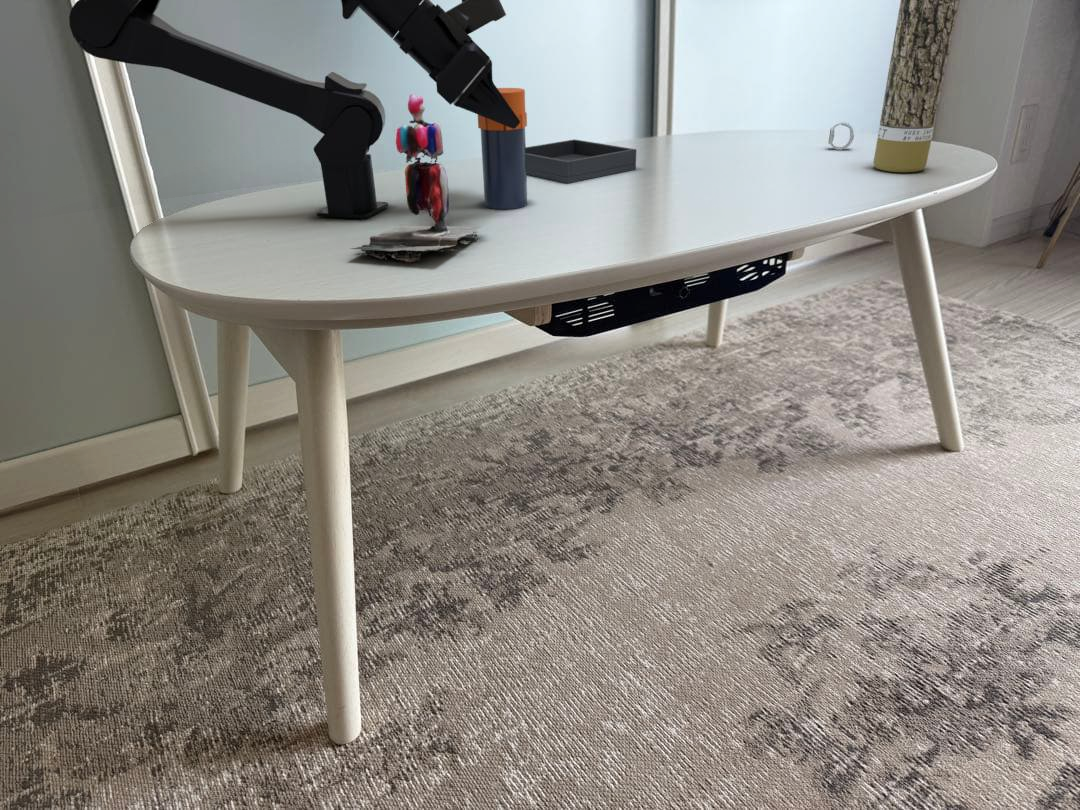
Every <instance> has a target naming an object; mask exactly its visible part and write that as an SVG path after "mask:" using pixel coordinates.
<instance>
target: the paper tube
mask: <svg viewBox="0 0 1080 810" xmlns="http://www.w3.org/2000/svg"><path fill="white" fill-rule="evenodd" d="M959 5H960V0H900V4H899V9H898V14H897V20H896V26H895V31H894V38H893V44H892V49H891V56H890V60H889V61H890V62H889V67H888V73H887V79H886V84H885V90H884V97H883V102H882V109H881V113H880V120H879V124H878V125H879V126H878V130H877V131H878V132H877V139H876V145H875V151H874V157H873V166H874V168H875V169H877V170H879V171H884V172H889V173H902V174H903V173H905V174H906V173H916V172H921V171H922V170H924V169H925V168H926V167H927V162H928V158H929V154H930V149H931V143H932V139H933V136H934V135H933V134H934V130H935V125H936V120H937V115H938V109H939V104H940V99H941V94H942V91H943V84H944V80H945V75H946V69H947V65H948V59H949V55H950V51H951V46H952V45H951V44H952V41H953V35H954V32H955V31H954V30H955V25H956V19H957V15H958V11H959Z"/></svg>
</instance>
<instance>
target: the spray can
mask: <svg viewBox="0 0 1080 810" xmlns="http://www.w3.org/2000/svg"><path fill="white" fill-rule="evenodd" d="M480 143H481V159H482V160H481V161H482V177H483V178H482V180H483V196H484V206H485V207H486V208H489V209H495V210H515V209H519V208H523V207H526V206H527V205H528V184H527V181H528V179H527V177H528V176H527V174H526V147H527V145H526V144H527V143H526V127H524V128H521V129H514V130H484V129H480Z"/></svg>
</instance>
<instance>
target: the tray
mask: <svg viewBox="0 0 1080 810" xmlns="http://www.w3.org/2000/svg"><path fill="white" fill-rule="evenodd" d="M634 170H637V149H636V148H631V147H626V146H625V147H624V146H619V145H612V144H606V143H599V142H593V141H588V140H582V139H581V140H580V139H569V140H563V141H556V142H549V143H544V144H538V145H532V146H526V175H528V176H532V177H536V178H537V177H538V178H542V179H546V180H552V181H555V182H558V183H559V182H560V183H564V184H570V183H575V182H582V181H585V180H590V179H591V180H592V179H595V178H601V177H605V176H610V175H611V176H612V175H615V174H620V173H626V172H629V171H634Z"/></svg>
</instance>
